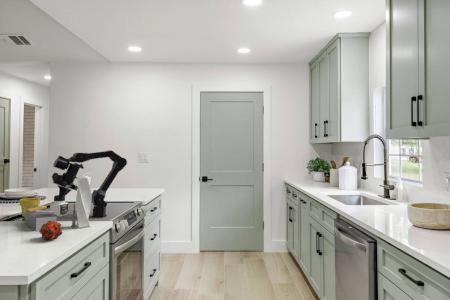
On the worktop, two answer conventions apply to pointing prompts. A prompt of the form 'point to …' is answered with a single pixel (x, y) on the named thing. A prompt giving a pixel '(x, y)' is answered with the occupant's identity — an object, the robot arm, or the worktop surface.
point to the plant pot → (28, 204)
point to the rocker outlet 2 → (44, 212)
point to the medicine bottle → (59, 206)
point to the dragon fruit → (51, 230)
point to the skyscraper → (82, 203)
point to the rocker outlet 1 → (37, 208)
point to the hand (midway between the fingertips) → (59, 199)
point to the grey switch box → (38, 219)
